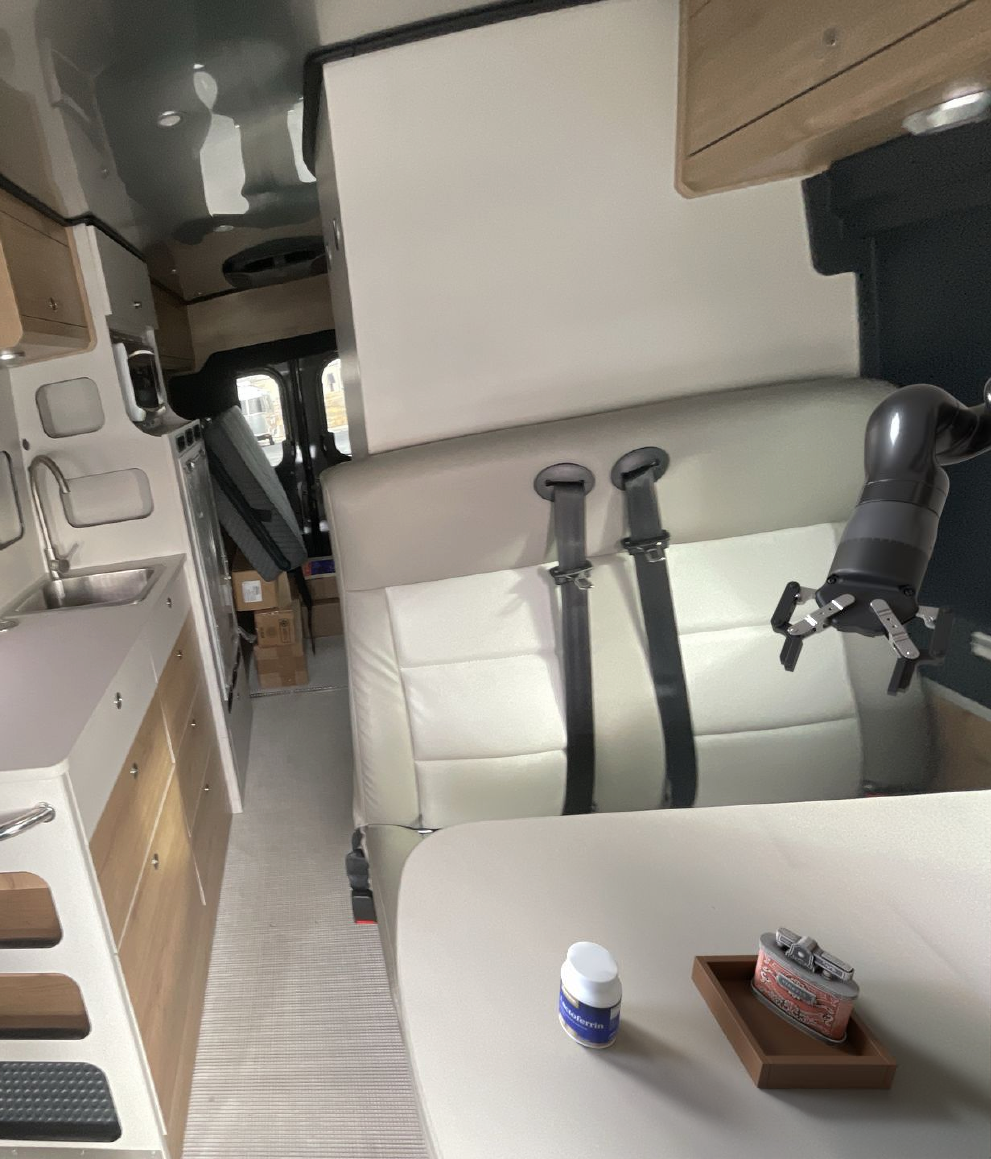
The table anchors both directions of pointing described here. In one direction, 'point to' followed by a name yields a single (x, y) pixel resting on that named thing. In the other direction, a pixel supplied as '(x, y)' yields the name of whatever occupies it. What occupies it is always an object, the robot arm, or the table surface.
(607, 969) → the pill bottle
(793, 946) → the lighter
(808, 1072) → the tray
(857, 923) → the table surface
